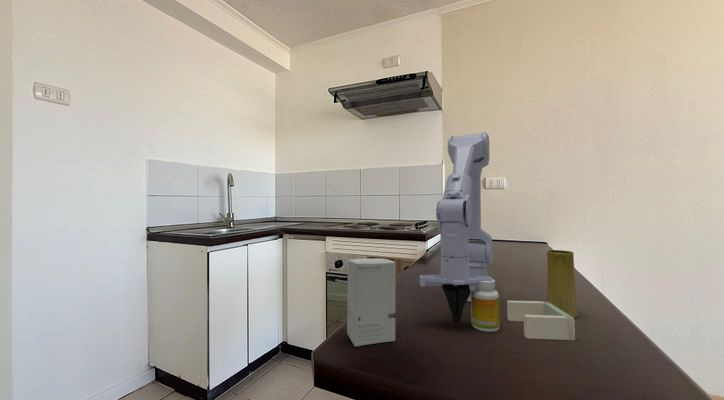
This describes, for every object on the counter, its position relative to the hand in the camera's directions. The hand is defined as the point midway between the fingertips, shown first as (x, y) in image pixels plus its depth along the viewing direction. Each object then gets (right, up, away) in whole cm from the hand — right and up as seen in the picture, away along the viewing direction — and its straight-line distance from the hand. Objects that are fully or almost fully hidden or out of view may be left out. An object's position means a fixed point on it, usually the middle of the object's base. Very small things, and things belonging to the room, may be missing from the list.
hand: (455, 321), depth 62 cm
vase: (+26, -1, +6) cm, 27 cm away
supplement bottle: (+6, -1, -1) cm, 6 cm away
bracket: (+16, -1, -2) cm, 16 cm away
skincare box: (-18, -1, -5) cm, 19 cm away
